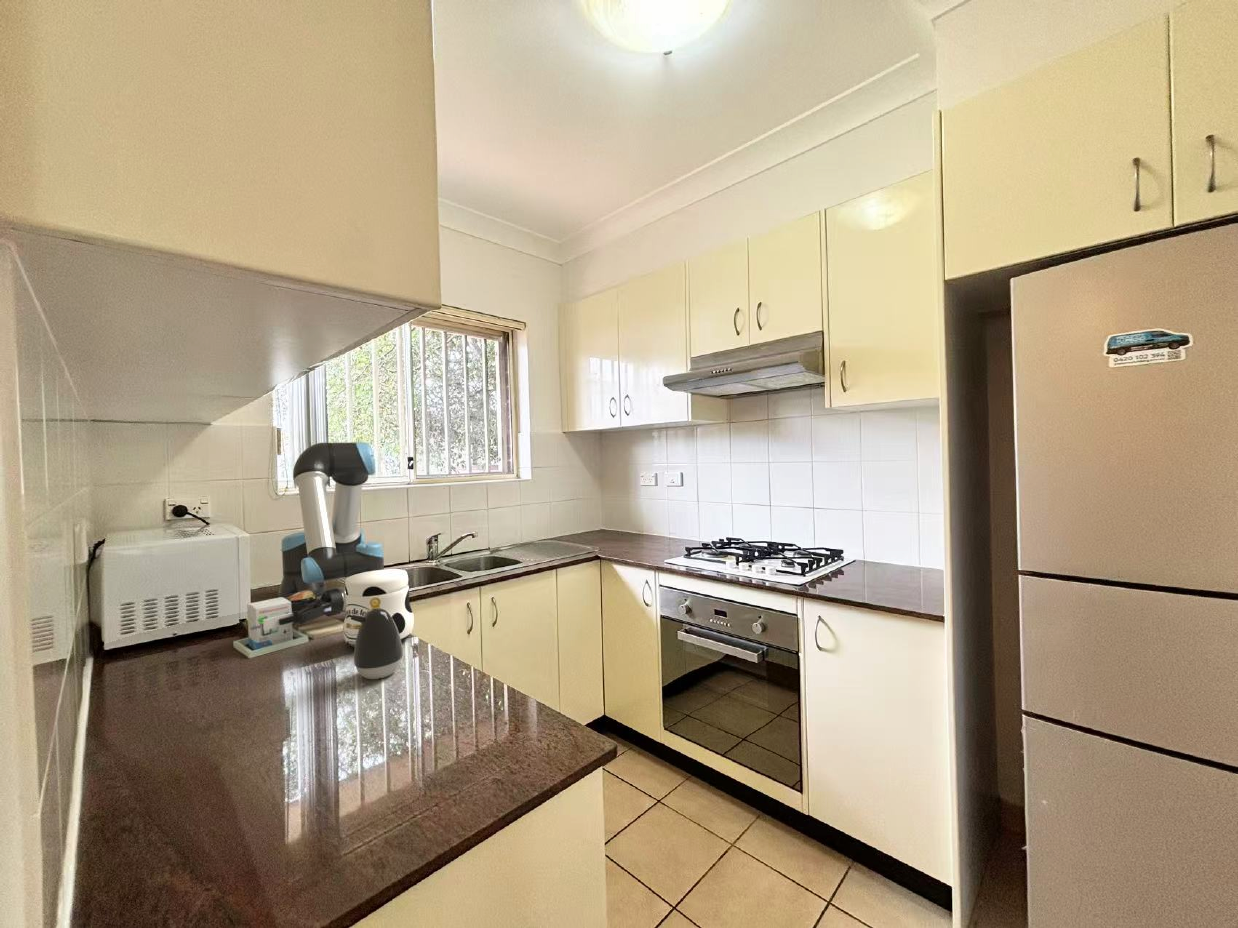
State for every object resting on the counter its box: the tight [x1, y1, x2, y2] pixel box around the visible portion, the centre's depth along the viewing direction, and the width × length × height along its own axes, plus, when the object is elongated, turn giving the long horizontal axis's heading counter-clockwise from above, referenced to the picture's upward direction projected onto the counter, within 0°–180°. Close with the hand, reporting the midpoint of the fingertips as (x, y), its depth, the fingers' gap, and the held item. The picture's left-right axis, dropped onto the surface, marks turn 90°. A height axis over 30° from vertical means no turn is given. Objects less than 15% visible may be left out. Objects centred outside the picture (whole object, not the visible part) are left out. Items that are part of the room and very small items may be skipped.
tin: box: [285, 590, 318, 625], centre depth 161 cm, size 15×3×8 cm, turn 179°
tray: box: [233, 627, 309, 659], centre depth 140 cm, size 14×14×2 cm
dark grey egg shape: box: [351, 608, 404, 680], centre depth 117 cm, size 10×10×15 cm
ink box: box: [246, 597, 294, 651], centre depth 139 cm, size 9×8×12 cm
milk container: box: [342, 568, 415, 649], centre depth 138 cm, size 17×17×18 cm
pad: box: [297, 617, 344, 640], centre depth 150 cm, size 12×10×1 cm
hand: (255, 620), depth 137 cm, fingers open, 12 cm apart
